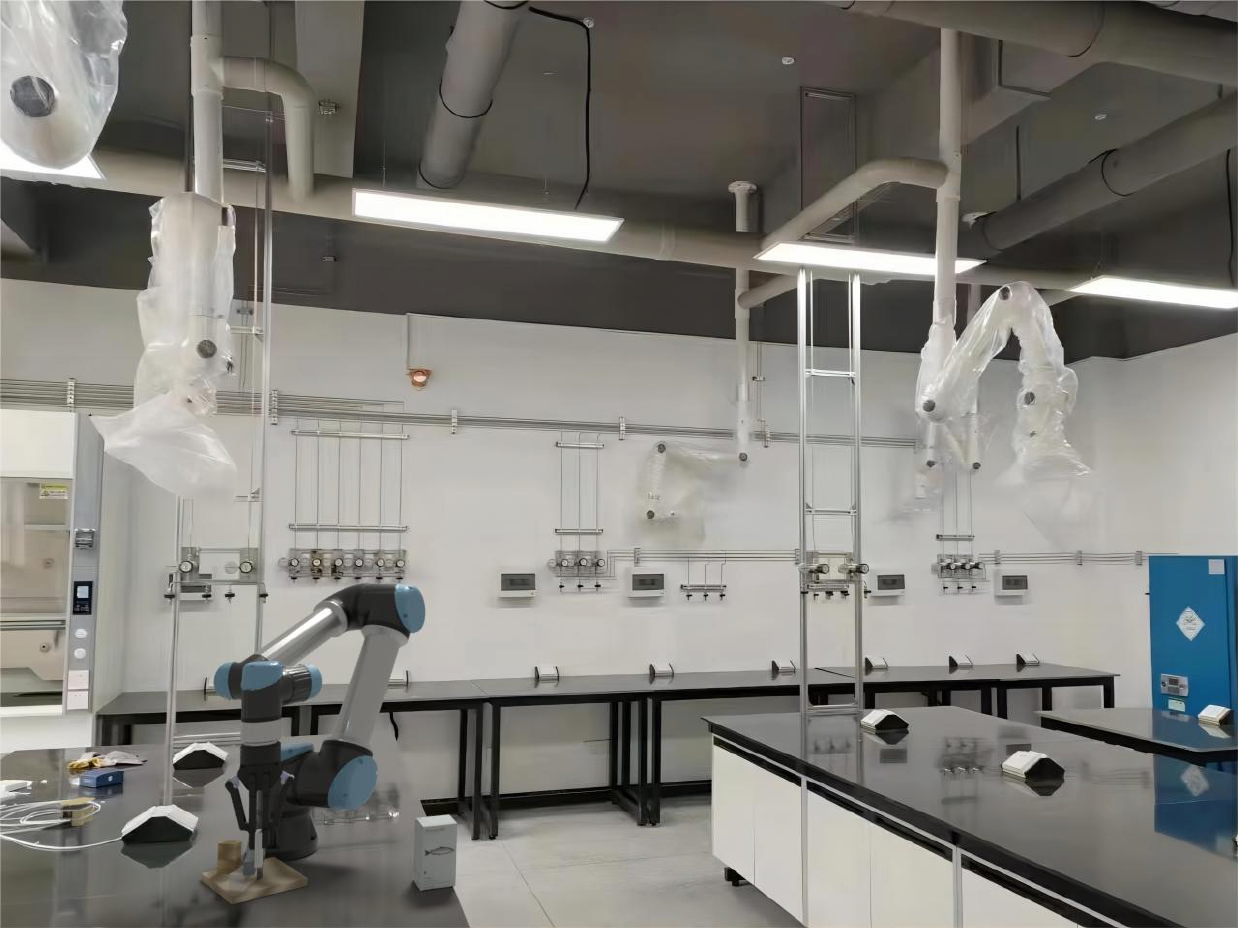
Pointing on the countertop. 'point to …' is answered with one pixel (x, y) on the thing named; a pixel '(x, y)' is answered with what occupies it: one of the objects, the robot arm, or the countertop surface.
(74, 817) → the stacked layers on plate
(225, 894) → the lock plate
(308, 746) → the robot arm
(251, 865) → the swing bar
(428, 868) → the supplement box
